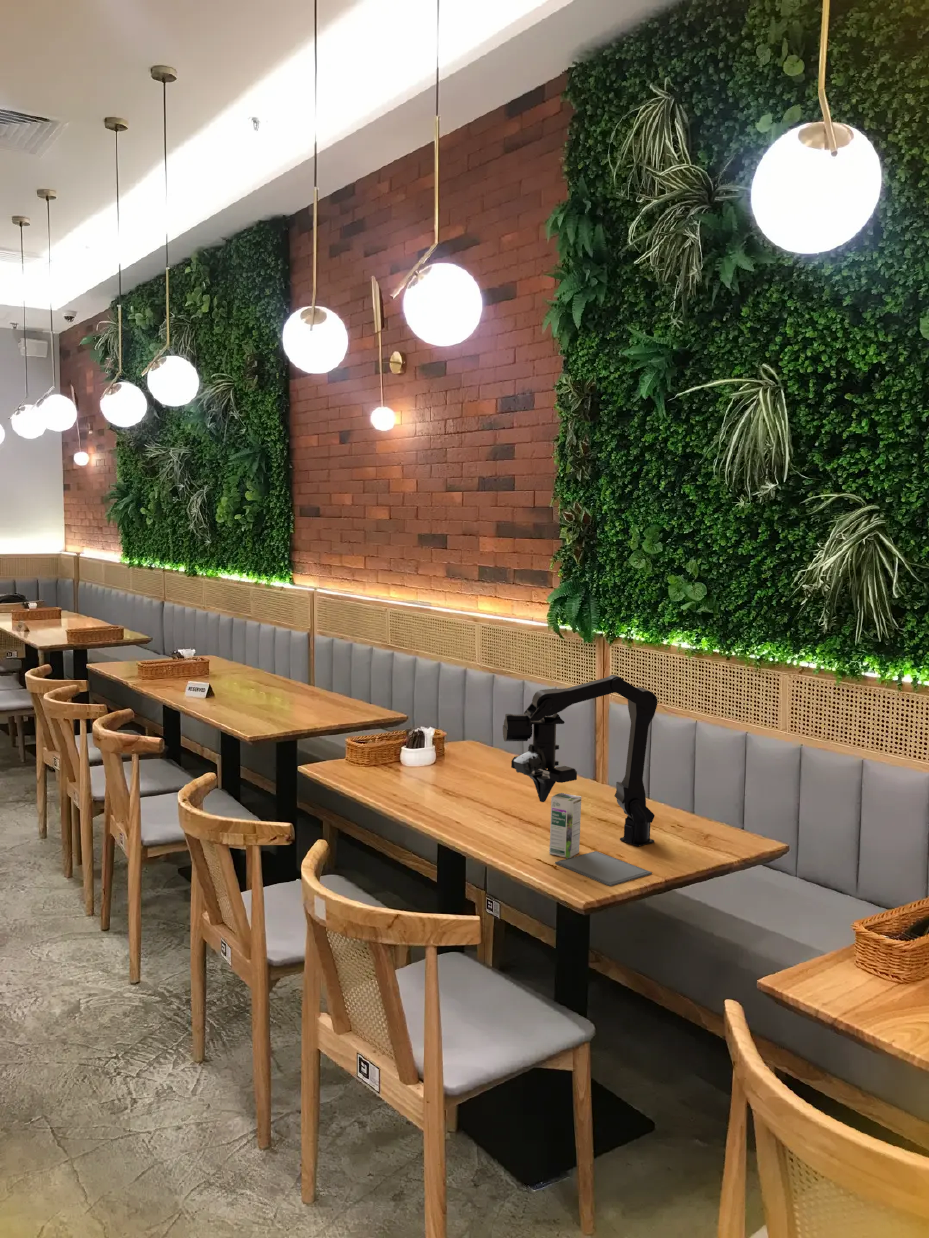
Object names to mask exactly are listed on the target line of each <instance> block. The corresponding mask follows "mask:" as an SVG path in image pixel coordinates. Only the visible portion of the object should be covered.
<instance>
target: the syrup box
mask: <svg viewBox="0 0 929 1238" xmlns="http://www.w3.org/2000/svg"><path fill="white" fill-rule="evenodd" d="M550 799H551V800H550V828H549V830H550V832H549V833H550V834H549V835H550V836H549V850H548V851H549V852H548V853H549V855H553V856H556V857H557V856H558V857H561V858H564V859H568V858H572V857H575V856H577V855H578V854H579V853H580V840H581V820H582V819H581V817H582V815H581V814H582V796H581V795H575V794H569V793H564V792H559V793H556V794H555V795H553V796H551V798H550Z"/></svg>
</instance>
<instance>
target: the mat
mask: <svg viewBox="0 0 929 1238" xmlns="http://www.w3.org/2000/svg"><path fill="white" fill-rule="evenodd" d="M554 864H555V865H557V866H560V867H561V868H563V869H566V870H569V871H572V872H574V873H576V874H579V875H581V876H584V877H586V878H589V879H591V880H593V881H596V882H599V883H601V884H602V885H606V886H608V887H614V886H617V885H619V884H620V885H621V884H623V883H627V882H629V881H630V882H631V881H633V880H637V879H640V878H643V877H646V876H650V875H653V872H652V871H650V870H647V869H645V868H642V867H639V866H638V865H634V864H632V863H628V862H626V861H623V860H620V859H619V858H616V857H613V856H611V855H608V854H605V853H602V852H600V851H597V850H595V851H591V852H588V853H584V854H579V855H574V856H573V857H571V858H564V859H562V860H561V859H560V860H557V861H554Z"/></svg>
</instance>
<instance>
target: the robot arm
mask: <svg viewBox="0 0 929 1238" xmlns="http://www.w3.org/2000/svg"><path fill="white" fill-rule="evenodd" d="M614 693H615V694H616V693H617V694H618V695H620V696H621V697H623V698H625V699H626V700H627V710H628V714H629V719H630V728H629V739H628V744H627V745H628V748H627V754H626V755H627V756H626V764H625V765H626V766H625V775H624V777H623V779H622V781H616V784H615V788H616V790H615V794H614V797H615V799H616V803H617V805H618V806H619V807H620V808H621V809H622V810H623V813H624V815H625V814H626V817H625V819H624V827H623V836H622V837H620V838H619V841H621V842H624V843H627V844H630V845H633V846H635V847H642V846H646V845H648V844H652V843H655V839H653V838H651V824H652V823H653V821H654V818H655V814H654V812H652V810H651V809H649V807H647V800H646V798H647V796H646V790H645V786H644V770H645V762H646V753H647V745H648V734H649V727H650V724H651V723H652V720H653V719H654V717H655V714H656V711H657V708H658V703H659V702H658V697H657V696H656V694H655V693H654V692H652V691H650V690H649V689H646V688H644V687H640V686H638V687H637V686H634V685H633V684H631V683H628V682H627V681H625V680H624V679H623V678H622V677H621V676H620V675H619V676H618V675H616V674H610V675H608V676H607V677H604V678H599V679H595V680H592V681H589V682H585V683H582V684H578V685H573V686H570V687H567V688H547V689H540V690H537V691H536V692H535V693H534V694H533V696H532V700H531V703H530V704H529V706H528V707H527V708H526V709H525V711H524V712H523V714H512V713H505V718H504V721H503V724H502V738H503V741H504V742H528V740H531V738H532V743H530V744H529V745H528V748H527V751H526V752H524V753H522V754H521V755H518V756H517V755H516V756H514V757H513V758H512V759H511V769H514V770H515V771H516V773H517V774H518V773H520V774H523V775H525V776H528V777H529V778H530V780H532V782H533V783H534V786H535V789H536V793H537V796H538V800H539V802H541V803H545V802H546V800H547V799H548V797H549V794H550V792H551V791H552V789H553V787H554V785H555V784H556V783H561V784H563V783H567V782H572V781H576V780H577V779H578V778H577V777H578V771H577V770H576V768H573V767H570V766H566V765H561V766H559V763H560V761H558V760H556V751H557V750H560V745H559V744H556V743H557V725H564V724H565V720H563V719H562V718H561V716H560V714H559V713H561V712H562V711H564V710H565V709H568V707H570V706H572V705H574V704H579V703H582V702H585V701H589V700H592V699H596V698H600V697H603V696H607V695H611V694H614Z"/></svg>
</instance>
